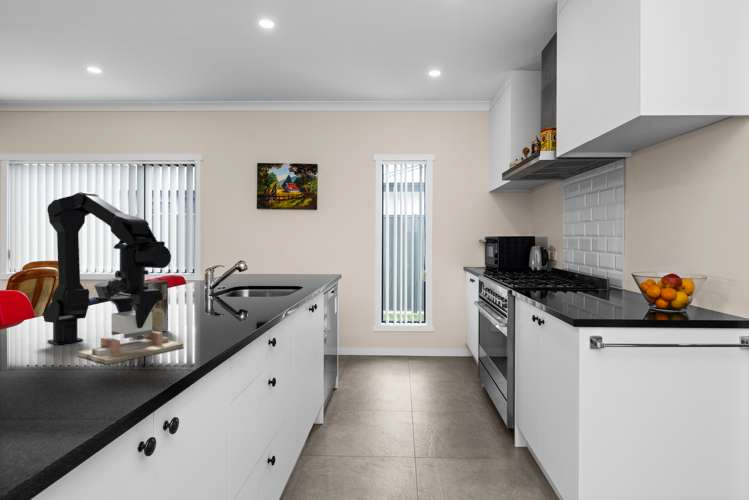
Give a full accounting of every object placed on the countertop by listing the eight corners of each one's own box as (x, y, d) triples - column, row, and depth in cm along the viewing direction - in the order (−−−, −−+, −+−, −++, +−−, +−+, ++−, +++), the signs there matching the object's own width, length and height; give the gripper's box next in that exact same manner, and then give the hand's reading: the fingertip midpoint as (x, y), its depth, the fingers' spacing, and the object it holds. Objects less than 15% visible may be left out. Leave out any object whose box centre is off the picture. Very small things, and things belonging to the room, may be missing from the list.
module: (111, 334, 114) (111, 313, 114) (138, 330, 120) (138, 310, 120) (125, 338, 111) (125, 316, 111) (152, 333, 117) (152, 312, 116)
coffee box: (151, 329, 142) (151, 280, 142) (168, 330, 141) (168, 280, 141) (130, 335, 133) (130, 282, 133) (148, 336, 132) (148, 283, 132)
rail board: (77, 355, 111) (77, 338, 111) (153, 340, 128) (153, 326, 128) (106, 364, 103) (106, 346, 103) (183, 347, 120) (183, 332, 120)
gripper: (80, 266, 113) (80, 327, 113) (120, 270, 103) (120, 336, 104) (124, 264, 123) (124, 320, 123) (164, 268, 113) (164, 328, 113)
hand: (132, 326), depth 115 cm, fingers closed on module, 7 cm apart
